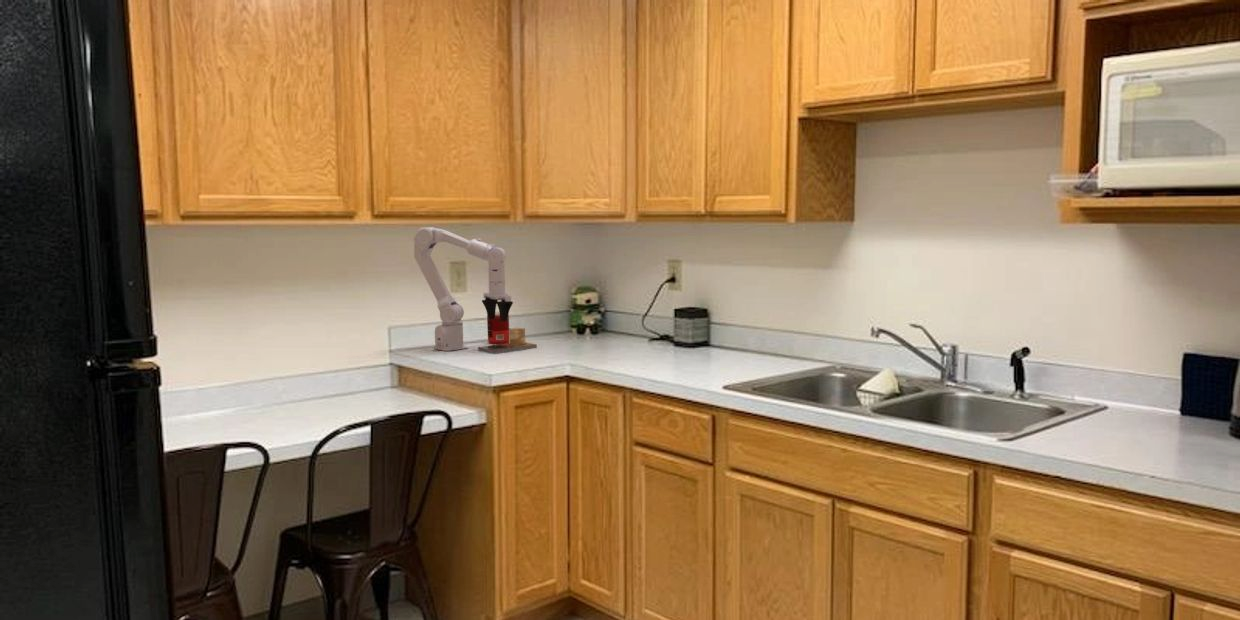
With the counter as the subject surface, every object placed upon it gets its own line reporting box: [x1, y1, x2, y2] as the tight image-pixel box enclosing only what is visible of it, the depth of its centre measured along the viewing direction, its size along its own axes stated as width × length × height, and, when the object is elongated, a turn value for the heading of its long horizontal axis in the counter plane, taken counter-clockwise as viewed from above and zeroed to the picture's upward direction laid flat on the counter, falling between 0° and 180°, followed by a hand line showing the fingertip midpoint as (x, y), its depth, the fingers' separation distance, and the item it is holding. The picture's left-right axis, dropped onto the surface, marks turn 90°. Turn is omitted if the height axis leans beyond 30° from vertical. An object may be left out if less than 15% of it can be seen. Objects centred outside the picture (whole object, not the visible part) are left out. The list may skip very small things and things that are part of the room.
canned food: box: [486, 311, 510, 345], centre depth 334 cm, size 8×8×11 cm
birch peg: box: [509, 326, 526, 346], centre depth 321 cm, size 4×4×7 cm
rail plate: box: [477, 341, 538, 355], centre depth 319 cm, size 18×10×1 cm, turn 131°
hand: (497, 320), depth 319 cm, fingers open, 7 cm apart
